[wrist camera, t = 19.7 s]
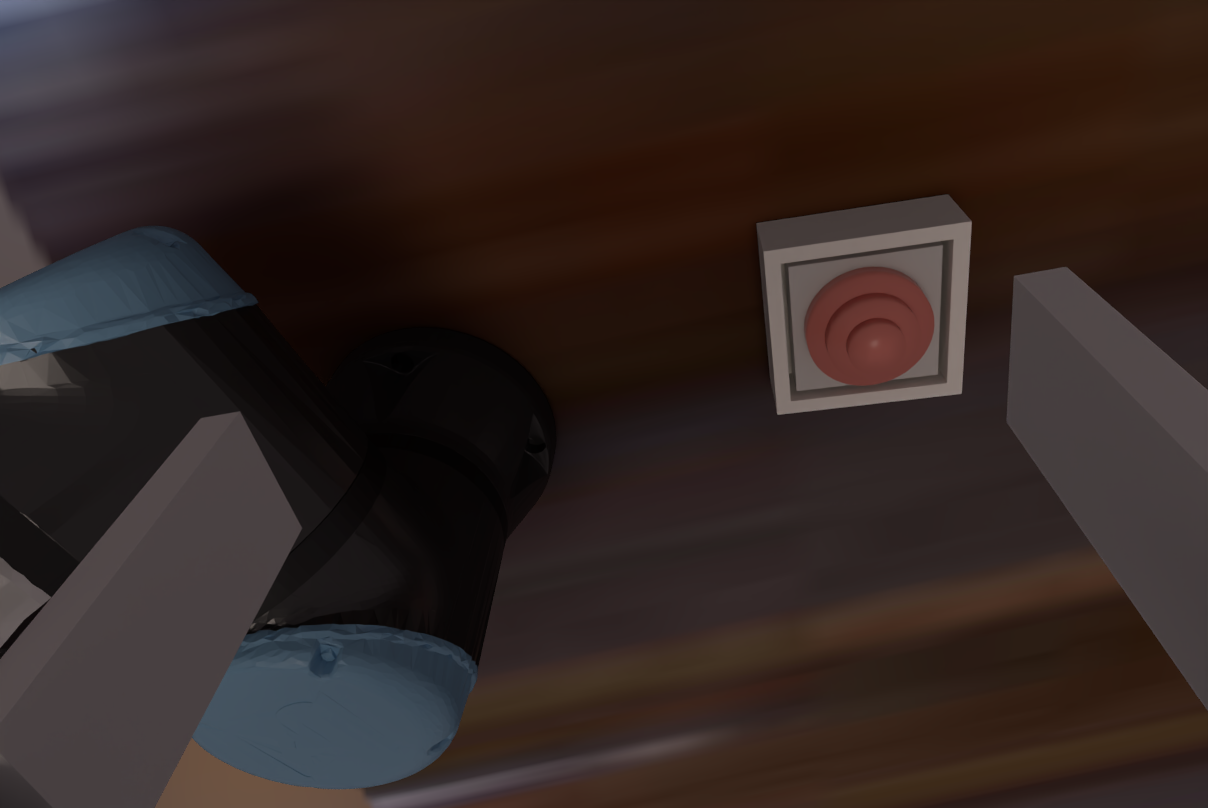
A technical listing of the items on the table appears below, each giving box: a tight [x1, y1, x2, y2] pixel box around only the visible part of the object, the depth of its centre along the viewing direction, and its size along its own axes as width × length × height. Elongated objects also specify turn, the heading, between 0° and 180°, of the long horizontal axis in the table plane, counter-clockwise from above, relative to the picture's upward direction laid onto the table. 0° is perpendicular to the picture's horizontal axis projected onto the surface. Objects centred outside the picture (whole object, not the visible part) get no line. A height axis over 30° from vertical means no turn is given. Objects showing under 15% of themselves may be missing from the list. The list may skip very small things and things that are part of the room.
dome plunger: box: [784, 241, 943, 391], centre depth 43 cm, size 8×8×5 cm
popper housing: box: [756, 194, 972, 415], centre depth 45 cm, size 10×10×4 cm
